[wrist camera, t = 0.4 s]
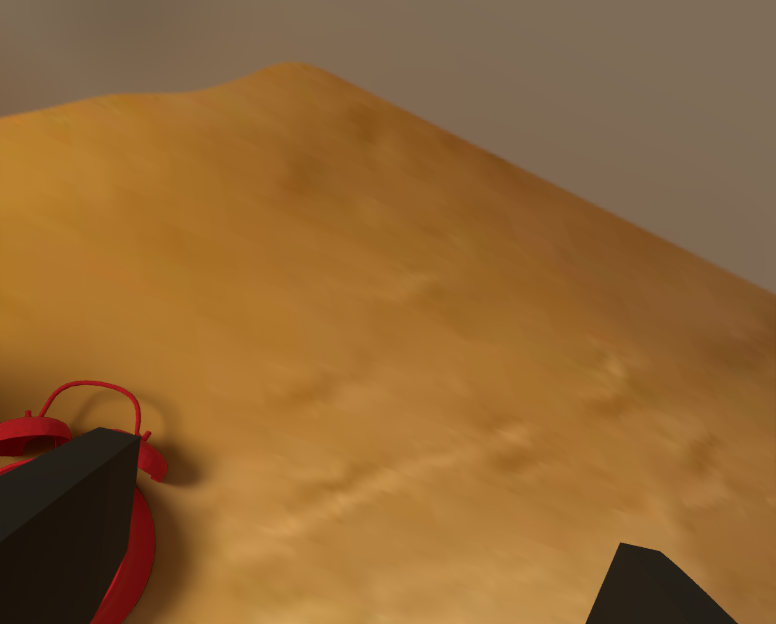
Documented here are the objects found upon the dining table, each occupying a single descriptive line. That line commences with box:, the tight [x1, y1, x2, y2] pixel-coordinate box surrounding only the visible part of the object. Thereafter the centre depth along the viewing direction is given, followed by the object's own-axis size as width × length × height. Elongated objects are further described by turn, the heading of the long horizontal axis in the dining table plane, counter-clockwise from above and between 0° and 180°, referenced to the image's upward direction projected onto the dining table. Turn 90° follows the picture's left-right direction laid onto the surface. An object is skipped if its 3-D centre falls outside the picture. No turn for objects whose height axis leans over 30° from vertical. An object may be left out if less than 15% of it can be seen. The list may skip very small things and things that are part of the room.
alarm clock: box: [0, 380, 167, 624], centre depth 34 cm, size 10×6×15 cm
